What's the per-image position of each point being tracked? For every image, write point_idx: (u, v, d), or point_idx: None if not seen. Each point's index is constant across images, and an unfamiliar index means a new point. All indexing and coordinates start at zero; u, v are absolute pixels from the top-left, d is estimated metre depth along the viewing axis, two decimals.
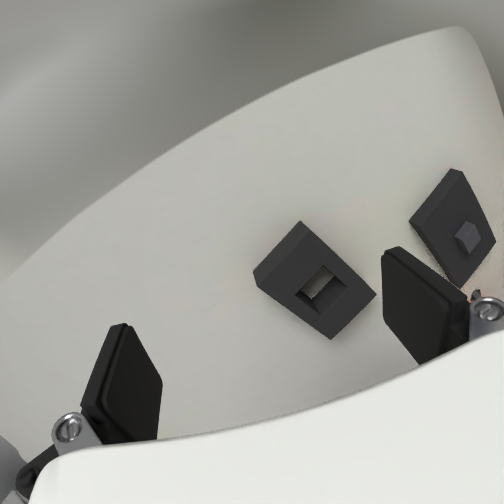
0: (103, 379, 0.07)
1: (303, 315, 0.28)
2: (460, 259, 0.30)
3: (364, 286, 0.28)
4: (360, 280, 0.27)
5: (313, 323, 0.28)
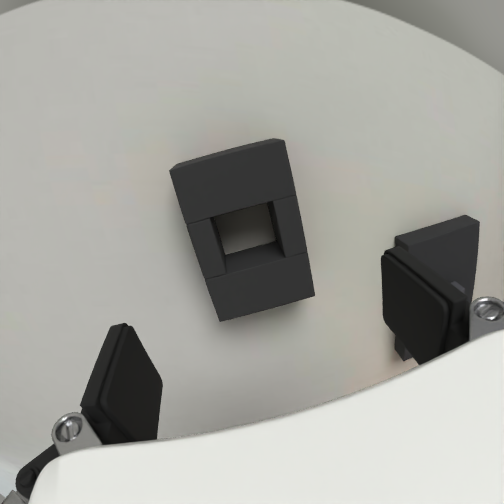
0: (103, 379, 0.07)
1: (204, 258, 0.18)
2: None
3: (306, 271, 0.19)
4: (306, 259, 0.19)
5: (210, 280, 0.19)
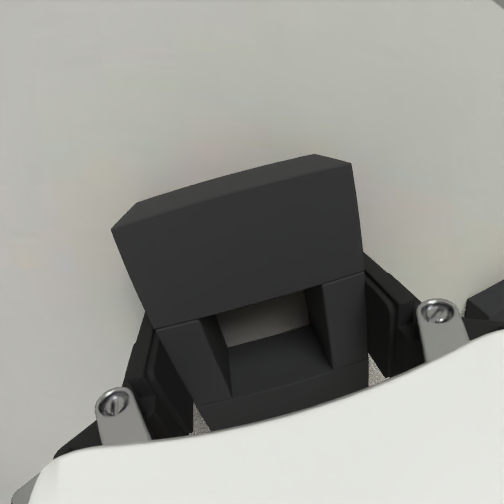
0: (147, 353, 0.08)
1: (192, 379, 0.09)
2: None
3: (362, 382, 0.11)
4: (365, 367, 0.10)
5: (205, 406, 0.10)
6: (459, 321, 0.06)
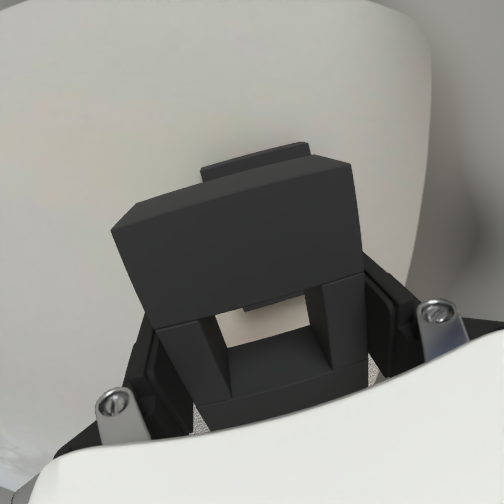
0: (148, 353, 0.08)
1: (191, 380, 0.09)
2: None
3: (362, 383, 0.11)
4: (365, 368, 0.10)
5: (205, 407, 0.10)
6: (459, 321, 0.06)
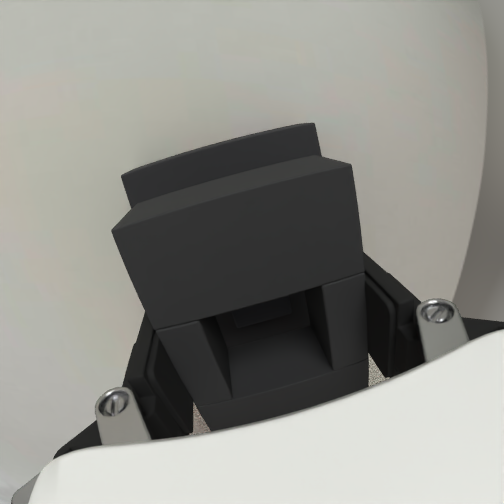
0: (148, 353, 0.08)
1: (192, 380, 0.09)
2: (225, 332, 0.15)
3: (362, 383, 0.11)
4: (365, 368, 0.10)
5: (205, 407, 0.10)
6: (459, 321, 0.06)
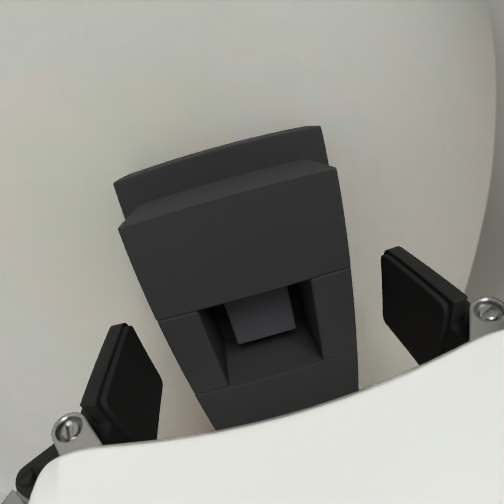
0: (103, 379, 0.07)
1: (191, 368, 0.10)
2: None
3: (352, 373, 0.11)
4: (354, 358, 0.11)
5: (204, 395, 0.11)
6: None
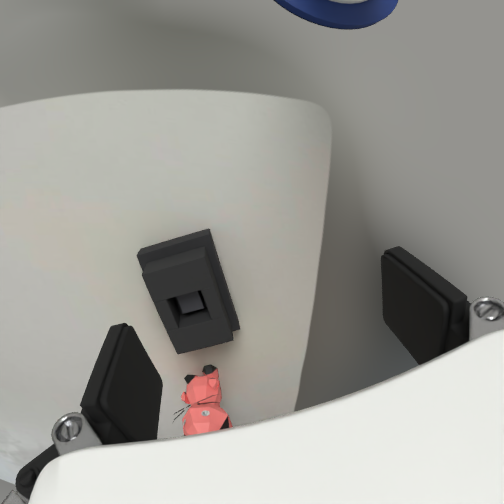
0: (103, 379, 0.07)
1: (165, 320, 0.31)
2: None
3: (226, 327, 0.32)
4: (225, 320, 0.31)
5: (169, 331, 0.31)
6: None
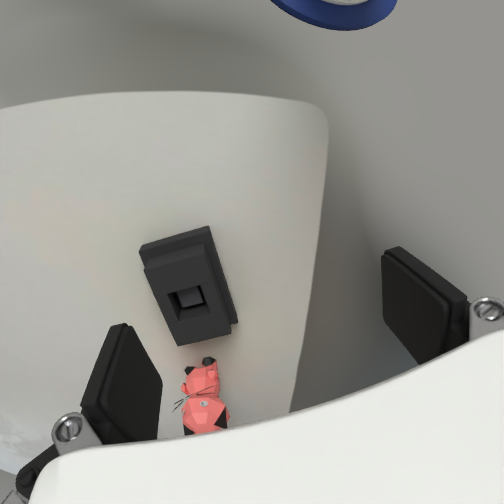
0: (103, 379, 0.07)
1: (165, 313, 0.32)
2: None
3: (224, 320, 0.33)
4: (223, 314, 0.33)
5: (170, 324, 0.33)
6: None
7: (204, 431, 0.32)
